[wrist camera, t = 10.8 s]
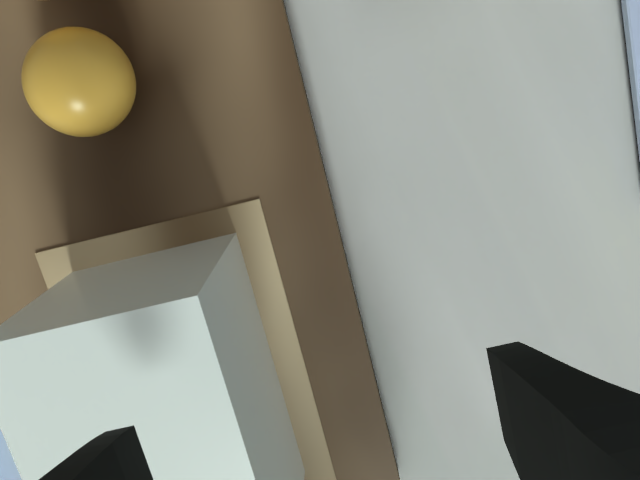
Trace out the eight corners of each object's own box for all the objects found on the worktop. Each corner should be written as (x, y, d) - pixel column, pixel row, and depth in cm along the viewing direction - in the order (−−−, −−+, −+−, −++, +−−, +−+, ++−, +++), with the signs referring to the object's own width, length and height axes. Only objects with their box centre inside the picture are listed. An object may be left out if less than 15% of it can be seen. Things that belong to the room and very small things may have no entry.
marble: (131, 20, 18) (93, 7, 15) (161, 120, 19) (130, 126, 16) (36, 45, 18) (-19, 37, 15) (70, 143, 19) (23, 153, 16)
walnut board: (222, -249, 17) (215, -271, 16) (398, 471, 23) (401, 490, 22) (-166, -134, 18) (-197, -148, 17) (98, 533, 24) (87, 554, 23)
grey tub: (236, 232, 19) (197, 295, 14) (304, 470, 22) (296, 611, 16) (72, 272, 20) (-34, 349, 14) (155, 501, 22) (94, 651, 16)
